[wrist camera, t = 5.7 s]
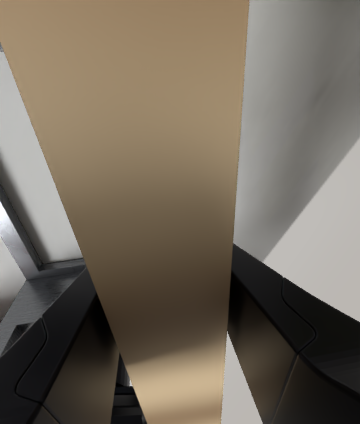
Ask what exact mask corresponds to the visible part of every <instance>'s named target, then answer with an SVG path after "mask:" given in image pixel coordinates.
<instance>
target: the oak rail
mask: <svg viewBox="0 0 360 424" xmlns="http://www.w3.org/2000/svg"><path fill="white" fill-rule="evenodd" d="M248 12H249V0H0V43H1V45H2V48H3V50H4V53H5V56H6V58H7V61H8V63H9V66H10V69H11V71H12V74H13V76H14V79H15V82H16V84H17V87H18V89H19V92H20V95H21V97H22V100H23V102H24V105H25V108H26V110H27V113H28V115H29V118H30V121H31V123H32V126H33V128H34V131H35V133H36V136H37V139H38V141H39V144H40V146H41V149H42V152H43V154H44V157H45V159H46V162H47V165H48V167H49V170H50V172H51V175H52V178H53V180H54V183H55V185H56V188H57V191H58V193H59V196H60V198H61V201H62V204H63V206H64V209H65V211H66V214H67V216H68V219H69V222H70V224H71V227H72V229H73V232H74V235H75V237H76V240H77V242H78V245H79V248H80V250H81V253H82V255H83V258H84V261H85V263H86V266H87V268H88V271H89V274H90V276H91V279H92V281H93V284H94V287H95V289H96V292H97V294H98V297H99V299H100V302H101V305H102V307H103V310H104V312H105V315H106V318H107V320H108V323H109V325H110V328H111V331H112V333H113V336H114V338H115V341H116V344H117V346H118V349H119V351H120V354H121V357H122V359H123V362H124V364H125V367H126V370H127V372H128V375H129V377H130V380H131V382H132V385H133V388H134V390H135V393H136V395H137V398H138V401H139V403H140V406H141V408H142V411H143V414H144V416H145V419H146V421H147V424H221V413H222V412H221V411H222V397H223V382H224V367H225V352H226V338H227V324H228V309H229V294H230V279H231V264H232V249H233V234H234V220H235V205H236V190H237V175H238V160H239V145H240V130H241V116H242V101H243V86H244V71H245V56H246V41H247V26H248Z"/></svg>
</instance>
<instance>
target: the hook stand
mask: <svg viewBox="0 0 360 424" xmlns="http://www.w3.org/2000/svg"><path fill="white" fill-rule="evenodd" d="M0 52H4V50H3V48H2V45H1V43H0ZM0 236H1V238H2V240H3V241H4V243H5V245H6V246H7V248H8V250H9V251H10V253H11V254H12V256H13V258H14V259H15V261H16V263H17V264H18V266H19V268H20V269H21V271H22V273H23V274H24V276H25V278H26V279H27V280H26V282H25V283H24V285H23V287H22V288H21V290H20V292H19V293H18V295H17V297H16V298H15V300H14V302H13V303H12V305H11V307H10V308H9V310H8V312H7V313H6V315H5V317H4V318H3V320H2V321H1V323H0V357H1V356H2V355H3V354H4V353H5V352H6V351H7V350H8V349H9V348H10V347H11V346H12V345H13V344H14V343H15V342H16V341H17V340H18V339H19V338H20V337H21V336H22V335H23V334H24V333H25V332H26V331H27V330H28V329H29V328H30V327H31V326H32V325H33V324H34V322H35V321H36V320H37V319H38V318H40V317H41V315H42V314H43V313H44V312H45V311H46V310H47V309H48V308H49V307H50V306H51V305H52V303H53V302H54V301H55V300H56V299H57V298H58V297H59V296H60V295H61V294H62V293H63V292H64V291H65V290H66V289H67V288H68V286H69V285H70V284H71V283H72V282H73V281H74V280H75V279H76V278H77V277H78V276H79V275H80V274H81V273H82V272H83V270H84V269H85V268H86V267H87V266H86V263H85V261H84V259H77V260H70V261H63V262H56V263H49V264H42V263H41V261H40V259H39V257H38V255H37V253H36V251H35V249H34V247H33V245H32V244H31V242H30V240H29V238H28V236H27V234H26V232H25V230H24V228H23V226H22V225H21V223H20V221H19V219H18V217H17V215H16V213H15V211H14V209H13V207H12V206H11V204H10V202H9V200H8V198H7V196H6V194H5V192H4V190H3V188H2V186H1V185H0ZM41 318H42V317H41Z"/></svg>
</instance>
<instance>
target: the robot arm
mask: <svg viewBox="0 0 360 424" xmlns="http://www.w3.org/2000/svg"><path fill="white" fill-rule="evenodd" d="M41 317H42V318H41ZM41 317H40V318H38V319H37V320H36V321H35V322H34V324H33V325H32V326H31V327H30V328H29V329H28V330H27V331H26V332H25V333H24V334H23V335H22V336H21V337H20V338H19V339H18V340H17V341H16V342H15V343H14V344H13V345H12V346H11V347H10V348H9V349H8V350H7V351H6V352H5V353H4V354H3V355H2V356H1V357H0V424H147V421H146V419H145V416H144V414H143V411H142V408H141V406H140V403H139V401H138V398H137V395H136V393H135V390H134V388H133V386H129V385H130V377H129V375H128V372H127V370H126V367H125V364H124V362H123V359H122V357H121V354H120V351H119V349H118V346H117V344H116V341H115V338H114V336H113V333H112V331H111V328H110V325H109V323H108V320H107V318H106V315H105V312H104V310H103V307H102V305H101V302H100V299H99V297H98V294H97V292H96V289H95V287H94V284H93V281H92V279H91V276H90V274H89V271H88V268H87V267H86V268H85V269H84V270H83V272H82V273H81V274H80V275H79V276H78V277H77V278H76V279H75V280H74V281H73V282H72V283H71V284H70V285H69V286H68V288H67V289H66V290H65V291H64V292H63V293H62V294H61V295H60V296H59V297H58V298H57V299H56V300H55V301H54V302H53V303H52V305H51V306H50V307H49V308H48V309H47V310H46V311H45V312H44V313H43V314H42V315H41ZM227 331H228V334H229V337H230V339H231V342H232V345H233V347H234V350H235V352H236V355H237V357H238V360H239V363H240V365H241V368H242V370H243V373H244V376H245V378H246V381H247V383H248V386H249V389H250V391H251V393H252V396H253V399H254V402H255V404H256V407H257V409H258V412H259V415H260V417H261V420H262V422H263V424H360V322H359V321H357V320H355V319H353V318H351V317H350V316H348V315H346V314H344V313H342V312H340V311H339V310H337V309H335V308H333V307H332V306H330V305H328V304H327V303H325V302H323V301H321V300H320V299H318V298H316V297H314V296H313V295H311V294H309V293H308V292H306V291H305V290H303V289H302V288H300V287H298V286H297V285H295V284H294V283H292V282H291V281H289V280H288V279H286V278H283V277H282V276H281V275H280V274H278V273H277V272H276V271H274V270H273V269H271V268H270V267H268V266H266V265H265V264H264V263H262V262H261V261H259V260H258V259H256V258H255V257H253V256H251V255H250V254H248V253H247V252H245V251H244V250H242V249H241V248H239V247H238V246H236V245H235V244H233V249H232V264H231V279H230V294H229V309H228V324H227Z"/></svg>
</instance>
